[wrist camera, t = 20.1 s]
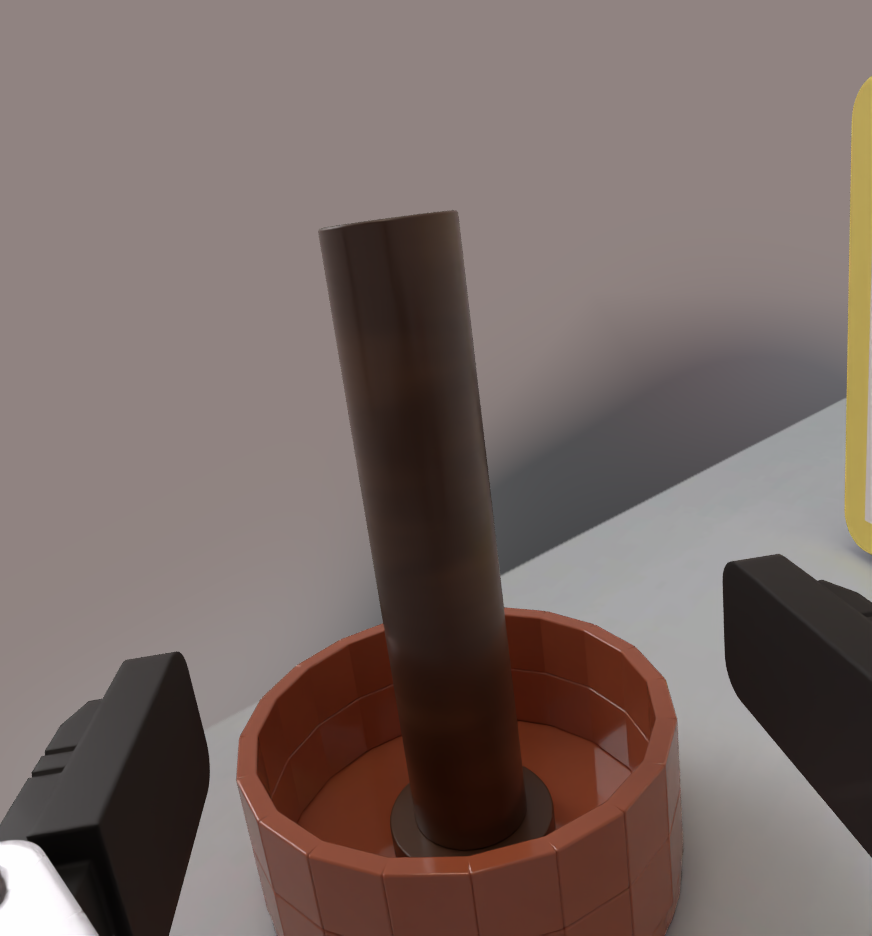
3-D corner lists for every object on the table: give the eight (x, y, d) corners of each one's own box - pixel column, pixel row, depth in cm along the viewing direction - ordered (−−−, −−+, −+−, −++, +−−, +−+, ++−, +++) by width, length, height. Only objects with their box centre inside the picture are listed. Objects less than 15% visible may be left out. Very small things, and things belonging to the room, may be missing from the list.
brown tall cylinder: (397, 913, 19) (274, 232, 15) (390, 792, 23) (292, 234, 19) (575, 881, 19) (507, 201, 15) (536, 767, 24) (474, 209, 19)
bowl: (181, 962, 19) (138, 811, 18) (389, 706, 29) (370, 594, 28) (635, 1128, 15) (620, 939, 13) (706, 756, 24) (701, 624, 23)
